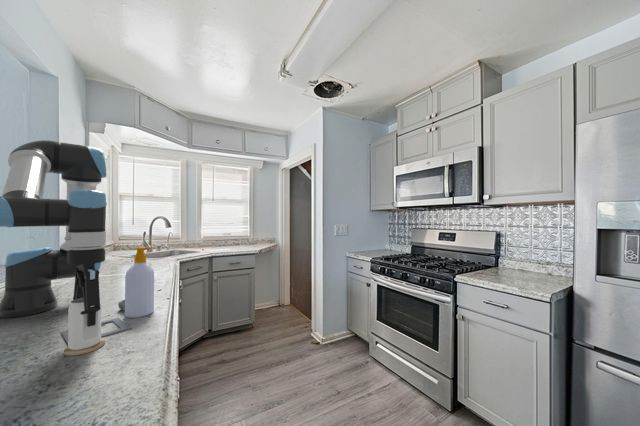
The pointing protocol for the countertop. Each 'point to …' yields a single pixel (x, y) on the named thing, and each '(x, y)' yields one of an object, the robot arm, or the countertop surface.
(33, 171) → the robot arm
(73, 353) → the coaster
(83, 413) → the countertop surface
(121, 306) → the stone
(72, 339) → the can
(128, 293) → the soap bottle
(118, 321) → the frame
